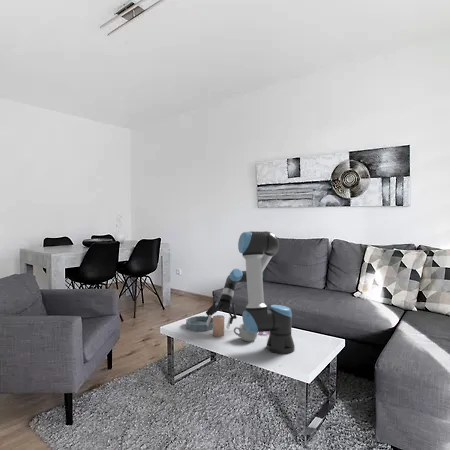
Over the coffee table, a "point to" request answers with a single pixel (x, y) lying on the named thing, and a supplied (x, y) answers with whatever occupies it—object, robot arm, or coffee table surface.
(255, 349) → the coffee table surface
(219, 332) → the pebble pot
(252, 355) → the coffee table surface
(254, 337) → the teacup
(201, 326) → the bowl
